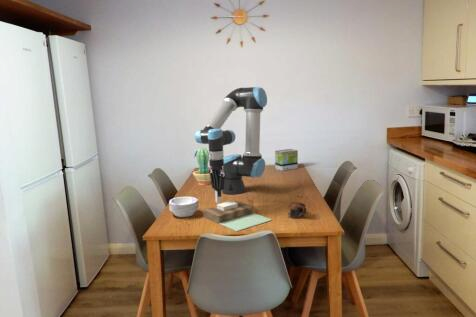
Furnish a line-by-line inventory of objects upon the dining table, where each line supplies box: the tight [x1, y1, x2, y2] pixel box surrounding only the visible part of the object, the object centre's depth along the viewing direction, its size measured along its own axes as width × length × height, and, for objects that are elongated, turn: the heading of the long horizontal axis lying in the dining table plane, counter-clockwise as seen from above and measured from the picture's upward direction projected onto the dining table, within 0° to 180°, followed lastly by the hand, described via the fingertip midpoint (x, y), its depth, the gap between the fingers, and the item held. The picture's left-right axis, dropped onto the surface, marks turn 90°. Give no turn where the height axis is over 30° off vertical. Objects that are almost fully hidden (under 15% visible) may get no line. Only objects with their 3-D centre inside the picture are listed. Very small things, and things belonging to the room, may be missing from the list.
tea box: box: [274, 148, 299, 172], centre depth 309 cm, size 15×10×15 cm
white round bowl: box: [168, 196, 199, 218], centre depth 210 cm, size 15×15×8 cm
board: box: [202, 200, 255, 225], centre depth 205 cm, size 22×14×4 cm, turn 127°
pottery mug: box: [287, 201, 307, 219], centre depth 200 cm, size 12×10×8 cm
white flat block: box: [216, 200, 238, 211], centre depth 206 cm, size 9×6×2 cm, turn 127°
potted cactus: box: [192, 146, 212, 186], centre depth 272 cm, size 15×15×25 cm
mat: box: [218, 212, 273, 232], centre depth 195 cm, size 22×14×1 cm, turn 127°
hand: (218, 202), depth 212 cm, fingers closed
